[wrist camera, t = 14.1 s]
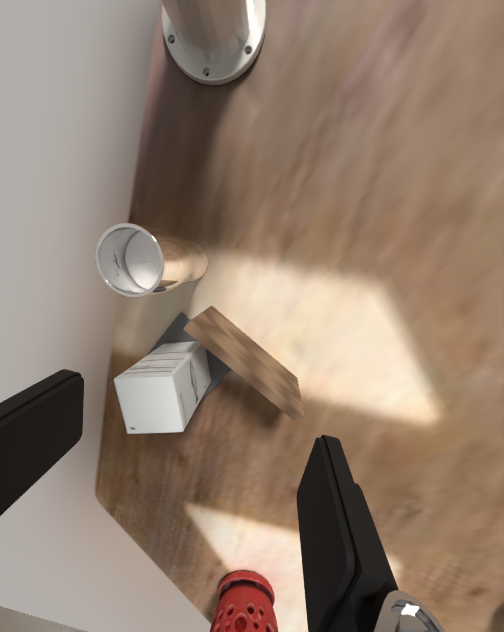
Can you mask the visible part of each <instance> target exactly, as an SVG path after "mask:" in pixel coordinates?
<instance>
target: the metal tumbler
mask: <svg viewBox="0 0 504 632" xmlns="http://www.w3.org/2000/svg"><path fill="white" fill-rule="evenodd" d="M95 259H96V265H97V269H98V271H99V274H100V276H101V277H102V279H103V280H104V282H105V283H106V284H107V285H108V286H109V287H110V288H111V289H112V290H114V291H115V292H117V293H119V294H121V295H123V296H127V297H141V296H148V295H155V294H160V293H164V292H167V291H170V290H172V289H174V288H176V287H177V286H179V285H180V284H182V283H183V282H184V281H186V282H191V281H195V280H198V279H199V278H201V277H202V276H203V275H204V273H205V271H206V269H207V265H208V259H207V255H206V253H205V251H204V249H203V248H202V247H201V246H200V245H199V244H198V243H196V242H194V241H190V240H180V239H179V238H178V237H176V236H175V235H173V234H171V233H169V232H167V231H165V230H162V229H159V228H155V227H150V226H144V225H135V224H130V223H122V224H117V225H114V226H112V227H110V228H109V229H107V230H106V231H105V232H104V233H103V234H102V236H101V237H100V239H99V241H98V243H97V246H96V252H95Z"/></svg>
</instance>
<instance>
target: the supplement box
mask: <svg viewBox="0 0 504 632" xmlns="http://www.w3.org/2000/svg"><path fill="white" fill-rule="evenodd" d="M210 382H211V377H210V372H209V367H208V361H207V354H206V348H205V347H204V346H203V345H202V344H201V343H199V342H198V341H192V342H180V343H167V344H163V345H161V346H160V347H158V348H157V349H155V350H154V351H153V352H151V353H150V354H148V355H147V356H146V357H144V358H143V359H141V360H140V361H139V362H137V363H136V364H135V365H133V366H132V367H130V368H129V369H128V370H126V371H125V372H123V373H122V374H120V375H119V376H117V377H116V378H114V383H115V387H116V391H117V395H118V399H119V403H120V407H121V411H122V414H123V418H124V422H125V426H126V430H127V433H128V434H141V433H169V432H183V431H184V429H185V427H186V426H187V424H188V422H189V420H190V418H191V416H192V415H193V413H194V411H195V409H196V407H197V406H198V404H199V402H200V400H201V398H202V397H203V395H204V393H205V391H206V389H207V388H208V386H209V384H210Z"/></svg>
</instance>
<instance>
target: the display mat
mask: <svg viewBox="0 0 504 632" xmlns="http://www.w3.org/2000/svg"><path fill="white" fill-rule="evenodd" d="M189 321H190V320H189V319H188V318H187V317H186V316H184V315H183V314H182V313H180V314H179V316H178V317H177V318H176V319H175V321H174V322H173V323H172V324H171V326H170V327H169V328H168V329H167V331H166V332H165V333H164V335H163V336H162V337H161V338H160V340H159V341H158V342H157V343H156V345H155V346H154V347H153V349H152V350H151V351H150V352H149V354H150V353H151V352H153V351H154V350H155V349H157V348H158V347H160V346H161V345H163V344H167V343H180V342H192V341H197V340H196V339H195V338H193V337H192V336H191V335H190V334H188V333H187V332H186V331H185V330H184V327H185V326H186V325H187V324H188V322H189ZM206 354H207V361H208V367H209V372H210V377H211V382H210V384H209V386H208V388H207V389H206V391H205V393H204V395H203V397H202V398H201V400H200V402H201V401H202V400H203V399H204V398H205V397H206V396H207V395H208V394H209V393H210V391H211V390H212V389H213V388H214V387H215V386H216V385H217V384H218V383H219V382H220V381H221V380H222V379H223V377H224V376H225V375H226V374H227V373H228V372H229V371H230V370H231V368H230V367H228V366H227V365H226V364H225V363H224V362H222V361H221V360H220V359H219V358H218V357H216V356H215V355H214V354H213V353H212V352H210V351H209V350H208V349H207V348H206ZM200 402H199V403H200Z"/></svg>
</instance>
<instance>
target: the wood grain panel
mask: <svg viewBox="0 0 504 632" xmlns="http://www.w3.org/2000/svg"><path fill="white" fill-rule="evenodd" d="M184 330H185V331H186V332H187V333H188V334H190V335H191V336H192V337H193V338H195V339H196V340H197V341H198V342H199V343H201V344H202V345H203V346H204V347H205V348H207V349H208V350H209V351H210V352H212V353H213V354H214V355H215V356H216V357H218V358H219V359H220V360H221V361H222V362H224V363H225V364H226V365H227V366H228V367H230V368H231V369H232V370H233V371H235V372H236V373H237V374H238V375H239V376H241V377H242V378H243V379H244V380H245V381H247V382H248V383H249V384H250V385H251V386H253V387H254V388H255V389H256V390H258V391H259V392H260V393H261V394H262V395H264V396H265V397H266V398H267V399H268V400H270V401H271V402H272V403H273V404H275V405H276V406H277V407H278V408H279V409H281V410H282V411H283V412H284V413H285V414H287V415H288V416H289V417H290V418H291V419H293V420H294V421H295V422H296V423H299V422H300V421H301V420H302V419H303V418H304V412H303V407H302V402H301V396H300V391H299V385H298V380H297V377H295V376H294V375H293V374H292V373H291V372H289V371H288V370H287V369H286V368H285V367H284V366H282V365H281V364H280V363H279V362H278V361H276V360H275V359H274V358H273V357H272V356H271V355H269V354H268V353H267V352H266V351H265V350H263V349H262V348H261V347H260V346H259V345H258V344H256V343H255V342H254V341H253V340H252V339H250V338H249V337H248V336H247V335H246V334H245V333H243V332H242V331H241V330H240V329H239V328H237V327H236V326H235V325H234V324H233V323H231V322H230V321H229V320H228V319H227V318H226V317H224V316H223V315H222V314H221V313H220V312H218V311H217V310H216V309H215V308H214V307H213V306H211V307H209V308H208V309H206V310H205V311H204V312H202V313H201V314H199V315H198V316H196V317H195V318H194V319H192V320H191V321H189V322H188V324H187V325H186V326H185V327H184Z"/></svg>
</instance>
